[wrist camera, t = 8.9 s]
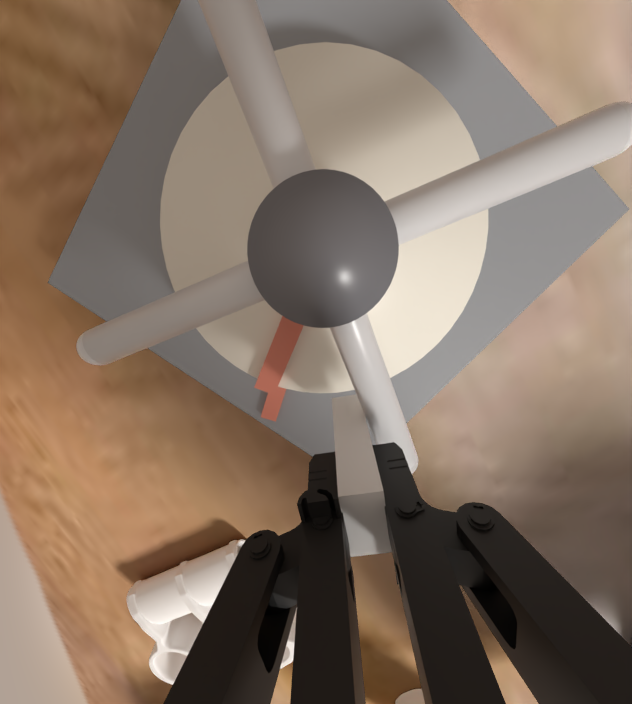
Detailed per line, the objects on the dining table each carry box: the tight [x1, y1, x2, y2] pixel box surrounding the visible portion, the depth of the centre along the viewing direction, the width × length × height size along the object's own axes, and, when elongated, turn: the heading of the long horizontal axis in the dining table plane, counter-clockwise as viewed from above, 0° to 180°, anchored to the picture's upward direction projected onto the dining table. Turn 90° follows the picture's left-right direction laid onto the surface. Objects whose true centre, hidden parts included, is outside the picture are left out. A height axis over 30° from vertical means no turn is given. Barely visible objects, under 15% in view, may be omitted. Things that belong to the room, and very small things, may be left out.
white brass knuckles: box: [127, 539, 297, 685], centre depth 29 cm, size 3×18×15 cm
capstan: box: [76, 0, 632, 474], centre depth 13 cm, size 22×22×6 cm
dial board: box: [48, 0, 629, 457], centre depth 18 cm, size 22×22×2 cm
